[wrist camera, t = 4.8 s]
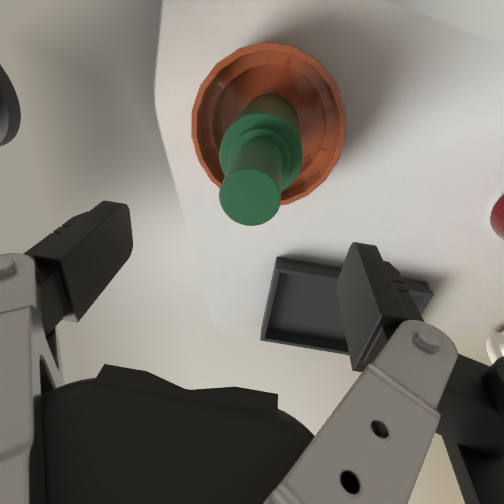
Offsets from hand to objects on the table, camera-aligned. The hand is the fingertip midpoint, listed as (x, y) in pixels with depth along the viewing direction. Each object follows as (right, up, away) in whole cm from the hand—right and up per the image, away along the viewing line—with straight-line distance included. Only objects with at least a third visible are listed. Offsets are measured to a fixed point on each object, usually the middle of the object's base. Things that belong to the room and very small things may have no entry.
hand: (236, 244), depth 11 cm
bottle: (+2, +12, +18) cm, 22 cm away
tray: (+12, -8, +31) cm, 34 cm away
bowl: (+2, +12, +19) cm, 23 cm away
